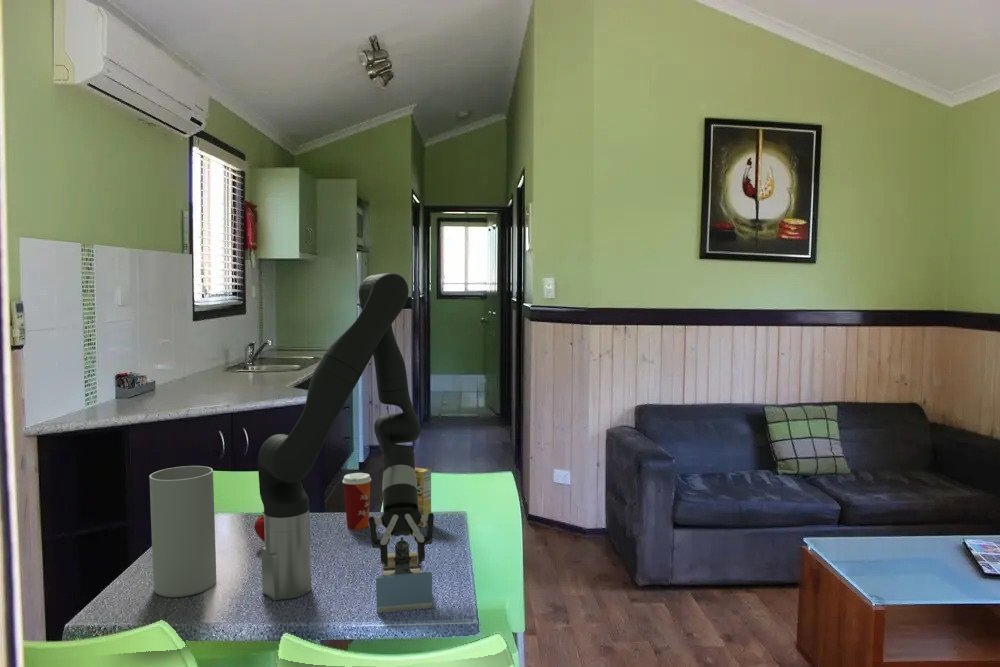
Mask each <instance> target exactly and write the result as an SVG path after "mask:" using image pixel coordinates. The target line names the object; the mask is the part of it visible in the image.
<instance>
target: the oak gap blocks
mask: <svg viewBox="0 0 1000 667" xmlns="http://www.w3.org/2000/svg"><path fill="white" fill-rule="evenodd" d="M409 556H410V557H411V560H410V571H411V572H413V573H422V572H421V568H419V567H418V566H419V564H418V552H417V551H409ZM394 558H395V552H393V553H392V552H391V553H388V567H384V564H382V570H383V569H394V568H395V561H394ZM411 567H418V568H411ZM394 572H395V569H394V570H383V571H382V575H391V574H393V573H394Z"/></svg>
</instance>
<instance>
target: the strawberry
mask: <svg viewBox="0 0 1000 667" xmlns="http://www.w3.org/2000/svg"><path fill="white" fill-rule="evenodd" d="M261 513H262V514H261V515H258V516H257V517H258V518H257V519H256V520H255V522H254V530H255V534H256V535H257V537H259V538H260V539H261V540H262V542H264V543H265V530H264V511H261Z"/></svg>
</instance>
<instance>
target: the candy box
mask: <svg viewBox="0 0 1000 667" xmlns="http://www.w3.org/2000/svg"><path fill="white" fill-rule="evenodd" d="M415 474H416V479H417V492H418V508H419V512H420V513H421V515H428V514H429V513H432V469H431V468H425V467H417V466H415ZM418 526H422V527H424V526H425V525H424V522H423V521H420V523H419V524H418ZM418 526H417V527H418ZM422 527H421V528H422ZM424 528H425V527H424Z"/></svg>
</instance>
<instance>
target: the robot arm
mask: <svg viewBox="0 0 1000 667" xmlns="http://www.w3.org/2000/svg"><path fill="white" fill-rule="evenodd" d="M408 298H409V285H408V283H407V281H406V279H405V278H404V277H403V276H401V275H400V274H398V273H393V272H388V273H387V272H386V273H385V272H384V273H379V274H371V275H370V276H367V277H366V278H365V279H363V280H362V281H361V283H360V285H359V287H358V299H359V306H360V307H361V308H360V309H361V312H360V314H359V315H358V316H357V317H356V319H355V321H354V322H353V323H352V324H351V325H350V326H349V327H348V328H347V329H346V330H345V331H344V332H342V334H341V335H339V337H338V338H337V339H336V340H335V341H334V342H333V343H332V344H331V346H329V347H328V349H327V350H326V352H325V353H324V355H323V356H322V357H321V360H320V361H319V363H318V364H317V366H316V368H315V370H314V371H313V374H312V376H311V379H310V381H309V383H308V384H309V385H308V389H307V390H308V391H307V395H306V400H305V404H304V408H303V411H302V413H301V415H300V417H299V419H298V420H297V421H296V424H295V425H294V427H293V428H292V430H291V431H290V433H289V434H286V433H285V434H284V433H279V434H278V433H277V434H273V435H271V436H270V437H268V438H267V439H266V440H265V441H264V442H263V443H262V445H261V446H260V449H259V452H258V455H257V456H258V458H257V472H258V473H257V474H258V483H259V484H258V486H259V487H258V488H259V496H260V500H261V502H262V505H263V512H264V530H265V542H264V546H263V547H262V548H261V578H262V579H261V582H262V586H261V587H262V593H263V594H265V595H266V596H267V597H268V598H270V599H271V600H272V601H277V600H288V599H296V598H298V597H302V596H304V595H306V594H308V593H309V592H310V591H311V590H312V571H311V570H312V569H311V565H312V564H311V532H310V531H311V528H310V526H311V525H310V521H311V520H310V499H309V496H308V494H307V493H306V490H305V488H304V486H303V483H302V480H304V479H305V478H306V477H307V476H308V474H310V472H311V471H312V469H313V468H314V465H315V463H316V461H317V459H318V457H319V454H320V453H321V450H322V448H323V446H324V443H325V441H326V439H327V437H328V434H329V433H330V430H331V428H332V426H333V424H334V423H335V421H336V420H337V418H338V416H339V415H340V413H341V410H342V409H343V407H344V405H345V404H346V402H347V400H348V399H349V396H350V395H351V394H352V392H353V391H354V388H355V387H356V386H357V384H358V382H359V380H360V379H361V376H362V374H363V373H364V371H365V369H366V368H367V365H368V364H369V362H370V361H371V358H372V357H373V361H374V362H373V363H374V367H375V368H374V369H375V378H376V387H377V395H378V396H377V397H378V400H379V402H380V403H381V404H383V405H391V406H396V407H398V408H400V410H401V411H402V412H397V413H396V412H395V413H387V414H382V415H379V416H378V417H377V418H376V420H375V421H374V423H373V424H374V425H373V428H374V429H373V430H374V434H375V437H376V440H377V442H378V444H379V448H380V451H381V456H382V466H383V467H382V468H383V469H382V472H383V474H382V491H381V492H382V515H381V517H376V518H375V517H374V516H369V523H368V529H369V536H370V544H371V548H373V549H379V551H380V563H381V565H383V564H384V567H388V554H389V553H388V546H389V543H390V542H391V541H392V538H393V537H399V536H405V537H408V536H410V537H411V538H412V539H413V541H415V543H416V544H417V546H416V547H417V551H416V552H417V555H418V565H422V564H423V562H425V559H426V549H425V547H426V545H432V543H433V538H434V523H435V522H434V520H435V518H434V517H435V515H434V513H433V512H431V513H429V514H428V515H421V513H420V512H419V508H418V492H417V479H416V474H415V467H416V465H415V453H414V450H413V449H412V448H411V447H410V446H407V445H406V444H405V445H403V444H404V443H413V442H415V441H417V440H418V438H419V436H420V435H421V429H422V428H421V423H420V421H419V418H418V416H417V414H416V411H415V409H414V406H413V403H412V400H411V397H410V392H409V384H408V374H407V368H406V364H405V360H404V357H403V355H402V352H401V350H400V347H399V346H398V343H397V340H396V338H395V334H394V330H393V323H394V321H395V320H396V319H397V317H398V316H399V315H400V314H401V312H402V310H403V309H404V308H405V305H406V304H407V301H408ZM420 521H423V522H424V525H425V526H426V535H425V536H423V535H422V533H421V531H420V528H419V527H418V524H419V523H420ZM380 524H382V525H383V527H384V528H385V531H384V534H383V536H382V537H381V539H378V534H377V530H379V528H380Z"/></svg>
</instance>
